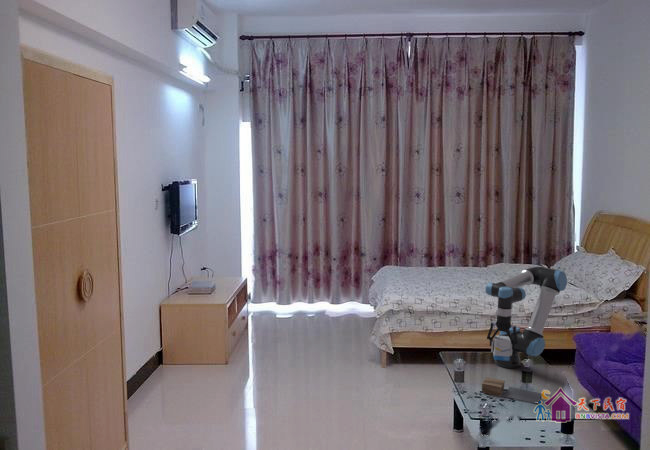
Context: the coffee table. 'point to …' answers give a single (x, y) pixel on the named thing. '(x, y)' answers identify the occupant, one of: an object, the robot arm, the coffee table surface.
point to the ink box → (502, 348)
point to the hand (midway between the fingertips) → (501, 353)
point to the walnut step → (493, 386)
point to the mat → (522, 395)
